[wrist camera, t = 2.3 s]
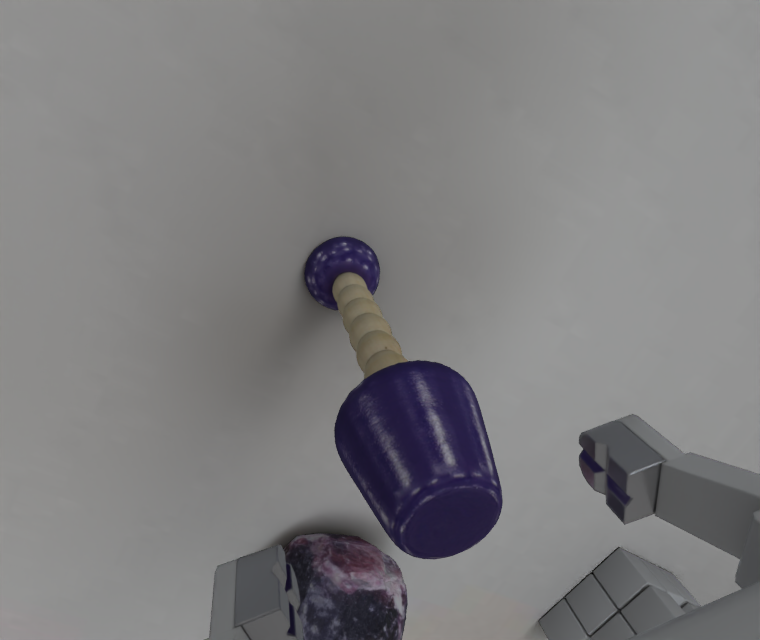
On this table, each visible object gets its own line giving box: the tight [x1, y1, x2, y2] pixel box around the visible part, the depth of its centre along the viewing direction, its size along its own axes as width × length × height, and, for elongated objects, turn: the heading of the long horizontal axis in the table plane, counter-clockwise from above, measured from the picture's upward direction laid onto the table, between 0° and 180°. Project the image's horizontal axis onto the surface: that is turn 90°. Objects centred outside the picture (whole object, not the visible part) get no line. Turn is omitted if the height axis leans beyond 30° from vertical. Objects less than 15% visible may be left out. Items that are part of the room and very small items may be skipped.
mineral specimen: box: [284, 533, 407, 640], centre depth 31 cm, size 10×10×10 cm
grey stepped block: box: [539, 548, 702, 640], centre depth 46 cm, size 12×12×8 cm
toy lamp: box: [304, 237, 502, 559], centre depth 18 cm, size 5×5×17 cm
